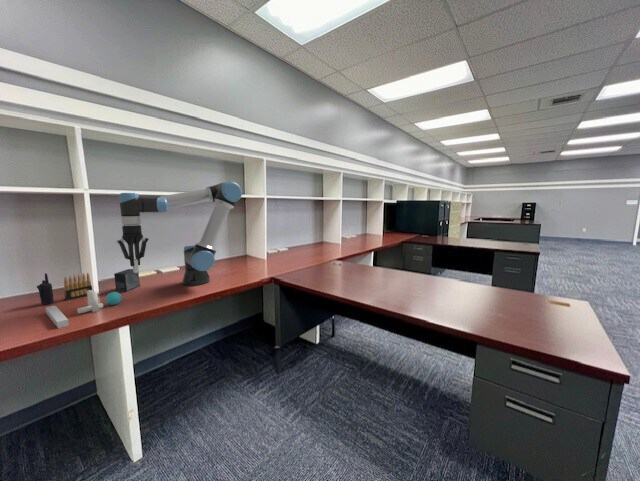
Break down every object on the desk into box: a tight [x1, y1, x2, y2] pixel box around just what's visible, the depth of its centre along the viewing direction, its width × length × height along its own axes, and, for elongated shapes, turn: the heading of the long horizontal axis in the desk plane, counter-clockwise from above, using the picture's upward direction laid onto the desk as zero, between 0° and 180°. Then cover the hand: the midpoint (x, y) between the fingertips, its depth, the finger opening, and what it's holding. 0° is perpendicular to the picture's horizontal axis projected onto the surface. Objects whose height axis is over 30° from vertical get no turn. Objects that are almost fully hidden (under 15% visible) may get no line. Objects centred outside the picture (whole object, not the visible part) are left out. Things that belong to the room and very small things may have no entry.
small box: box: [113, 268, 141, 293], centre depth 147 cm, size 11×6×10 cm, turn 178°
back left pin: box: [90, 291, 100, 313], centre depth 116 cm, size 2×2×8 cm
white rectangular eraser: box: [45, 305, 69, 329], centre depth 108 cm, size 3×24×2 cm, turn 54°
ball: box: [105, 291, 122, 306], centre depth 124 cm, size 6×6×6 cm
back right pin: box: [86, 289, 95, 306], centre depth 119 cm, size 2×2×8 cm
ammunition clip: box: [63, 272, 93, 302], centre depth 133 cm, size 11×2×12 cm, turn 152°
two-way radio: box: [36, 272, 55, 305], centre depth 124 cm, size 6×4×15 cm
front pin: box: [76, 302, 104, 315], centre depth 117 cm, size 2×2×8 cm
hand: (136, 272), depth 130 cm, fingers closed
